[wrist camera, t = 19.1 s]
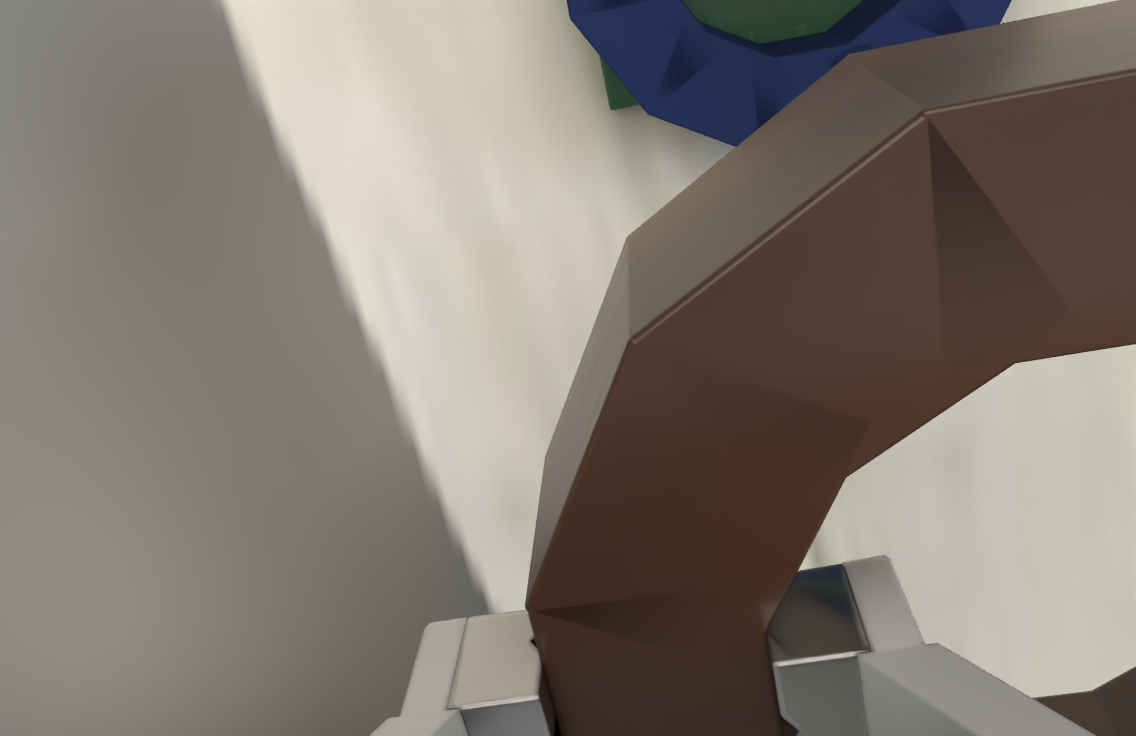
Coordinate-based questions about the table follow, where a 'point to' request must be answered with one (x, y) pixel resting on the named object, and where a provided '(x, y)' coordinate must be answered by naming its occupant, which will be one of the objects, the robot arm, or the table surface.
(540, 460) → the table surface
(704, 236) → the walnut ring
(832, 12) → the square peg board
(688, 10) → the navy ring
